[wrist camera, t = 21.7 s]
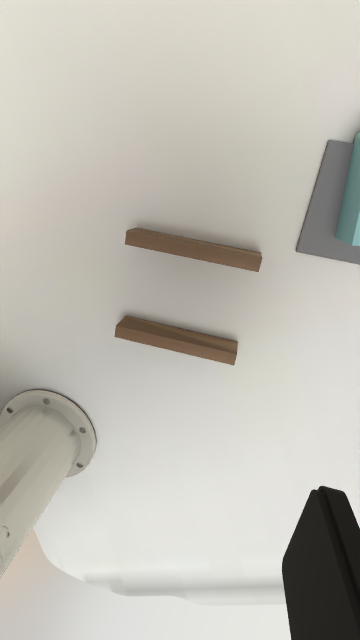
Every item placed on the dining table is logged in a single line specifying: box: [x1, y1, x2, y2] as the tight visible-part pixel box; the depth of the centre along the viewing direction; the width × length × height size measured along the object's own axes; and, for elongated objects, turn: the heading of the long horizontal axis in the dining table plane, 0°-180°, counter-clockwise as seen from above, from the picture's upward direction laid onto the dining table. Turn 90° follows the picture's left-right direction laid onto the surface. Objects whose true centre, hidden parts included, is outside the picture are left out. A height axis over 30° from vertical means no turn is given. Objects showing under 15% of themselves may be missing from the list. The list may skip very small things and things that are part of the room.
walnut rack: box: [115, 228, 262, 365], centre depth 33 cm, size 10×12×3 cm
